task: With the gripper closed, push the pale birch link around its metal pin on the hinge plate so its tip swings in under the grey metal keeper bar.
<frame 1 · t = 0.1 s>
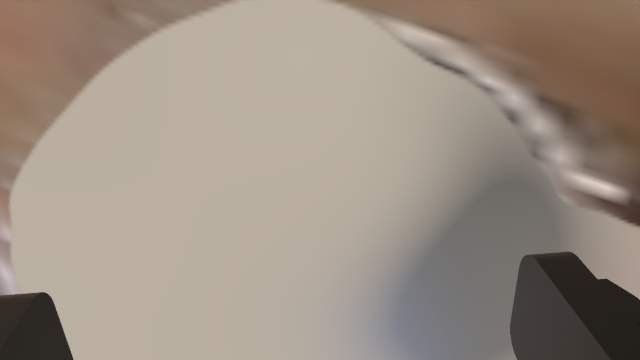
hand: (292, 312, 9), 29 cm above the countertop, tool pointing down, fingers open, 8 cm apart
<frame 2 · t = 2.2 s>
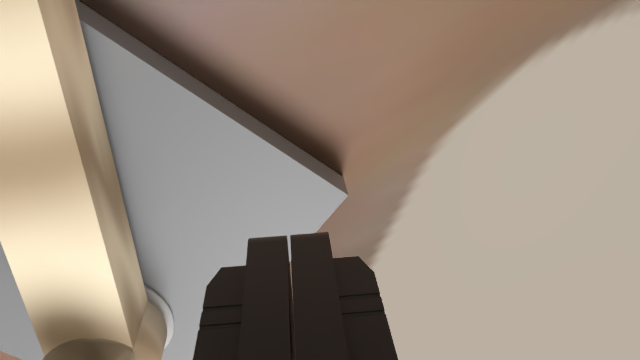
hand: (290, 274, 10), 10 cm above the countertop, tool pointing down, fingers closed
link: (57, 191, 17), point 3 cm above the countertop, hinge at -50.0°
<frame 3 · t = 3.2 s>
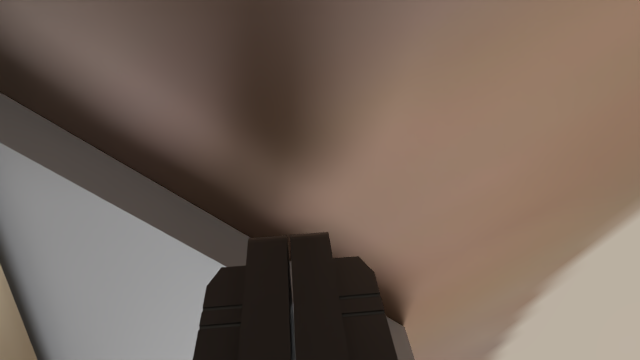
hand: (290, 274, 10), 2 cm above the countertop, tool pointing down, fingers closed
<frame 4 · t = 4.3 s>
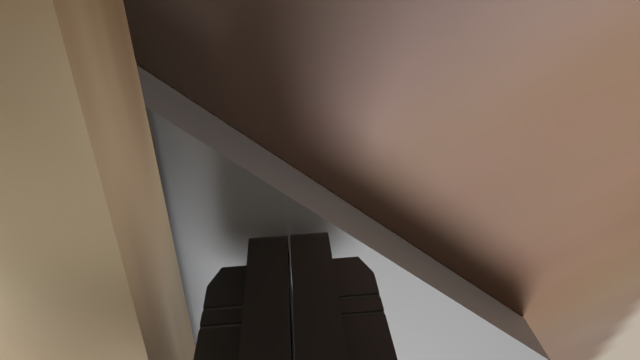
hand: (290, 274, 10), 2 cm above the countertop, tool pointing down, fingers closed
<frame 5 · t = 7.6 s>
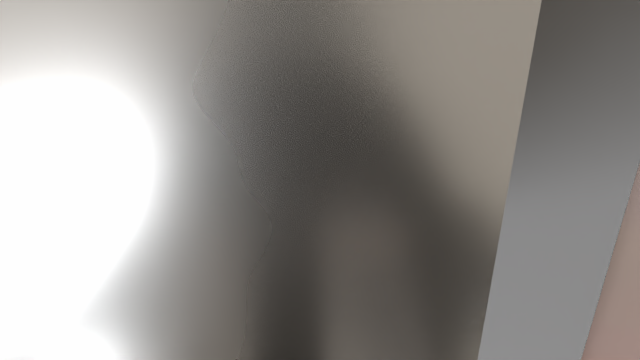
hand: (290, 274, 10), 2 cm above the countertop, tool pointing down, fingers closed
hinge plate: (282, 247, 12), on the countertop
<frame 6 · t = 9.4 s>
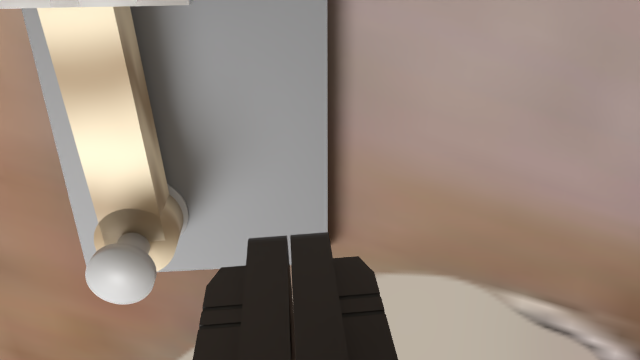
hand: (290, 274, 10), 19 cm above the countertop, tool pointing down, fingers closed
link: (109, 101, 24), point 3 cm above the countertop, hinge at 2.7°
hinge plate: (189, 61, 27), on the countertop
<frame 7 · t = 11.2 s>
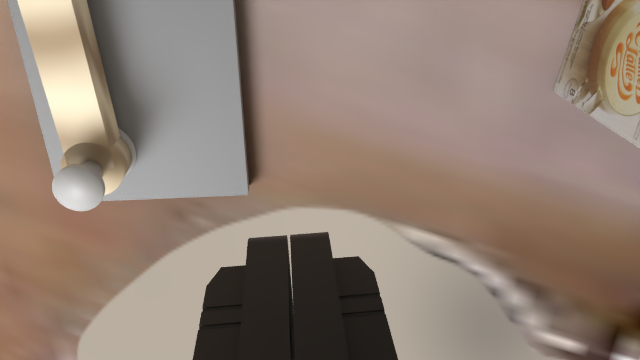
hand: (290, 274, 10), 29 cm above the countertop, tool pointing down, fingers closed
link: (70, 61, 33), point 3 cm above the countertop, hinge at 2.7°
hinge plate: (133, 33, 36), on the countertop
coffee box: (608, 36, 39), on the countertop
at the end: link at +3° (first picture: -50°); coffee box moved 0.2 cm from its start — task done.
